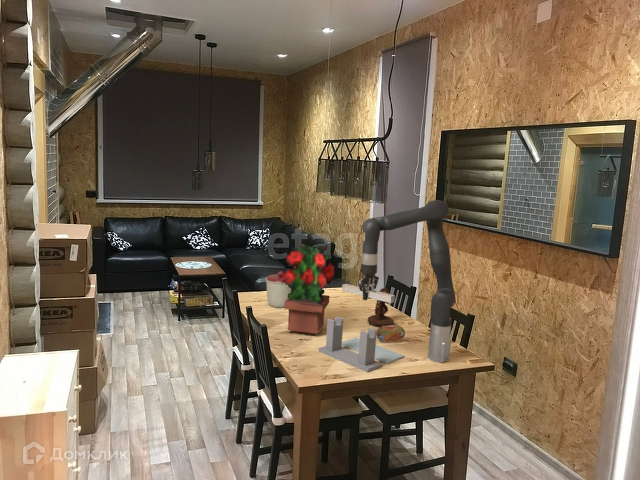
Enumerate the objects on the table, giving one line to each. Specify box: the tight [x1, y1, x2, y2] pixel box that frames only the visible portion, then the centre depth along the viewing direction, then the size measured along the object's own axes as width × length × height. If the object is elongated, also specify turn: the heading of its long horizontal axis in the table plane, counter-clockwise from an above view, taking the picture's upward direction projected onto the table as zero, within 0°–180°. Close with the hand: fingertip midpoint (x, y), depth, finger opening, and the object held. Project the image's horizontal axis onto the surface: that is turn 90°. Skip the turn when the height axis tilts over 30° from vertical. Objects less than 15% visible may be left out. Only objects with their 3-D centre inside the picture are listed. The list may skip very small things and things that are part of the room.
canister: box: [265, 271, 291, 308], centre depth 312 cm, size 18×18×21 cm
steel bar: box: [341, 283, 396, 304], centre depth 240 cm, size 28×3×3 cm, turn 48°
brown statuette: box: [367, 287, 395, 327], centre depth 289 cm, size 15×15×20 cm
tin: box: [376, 324, 406, 344], centre depth 264 cm, size 15×3×8 cm, turn 105°
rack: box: [318, 315, 383, 373], centre depth 238 cm, size 30×10×16 cm, turn 46°
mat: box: [341, 336, 405, 365], centre depth 250 cm, size 30×13×1 cm, turn 46°
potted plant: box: [282, 243, 335, 337], centre depth 269 cm, size 22×22×45 cm
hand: (367, 299), depth 240 cm, fingers closed on steel bar, 3 cm apart
